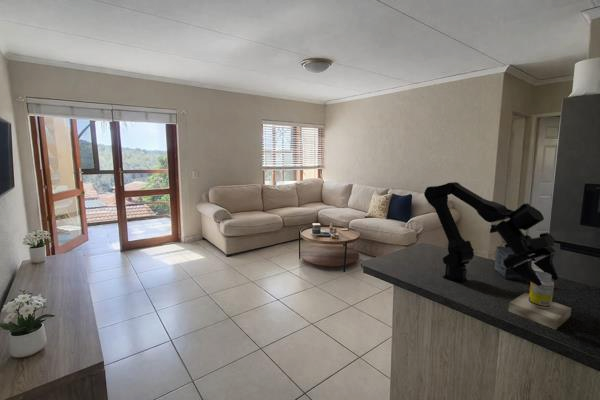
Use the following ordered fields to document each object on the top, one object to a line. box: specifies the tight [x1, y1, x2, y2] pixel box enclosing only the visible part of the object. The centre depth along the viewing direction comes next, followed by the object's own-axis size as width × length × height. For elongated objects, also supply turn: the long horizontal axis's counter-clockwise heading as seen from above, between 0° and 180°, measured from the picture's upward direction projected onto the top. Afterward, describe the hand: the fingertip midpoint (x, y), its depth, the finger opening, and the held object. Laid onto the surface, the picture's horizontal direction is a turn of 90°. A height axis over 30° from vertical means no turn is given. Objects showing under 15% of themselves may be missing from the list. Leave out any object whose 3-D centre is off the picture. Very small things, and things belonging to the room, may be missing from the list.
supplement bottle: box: [528, 270, 555, 309], centre depth 92 cm, size 6×6×10 cm
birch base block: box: [507, 292, 572, 330], centre depth 93 cm, size 12×12×3 cm
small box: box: [493, 245, 523, 281], centre depth 122 cm, size 11×6×10 cm, turn 168°
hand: (548, 282), depth 90 cm, fingers open, 9 cm apart
